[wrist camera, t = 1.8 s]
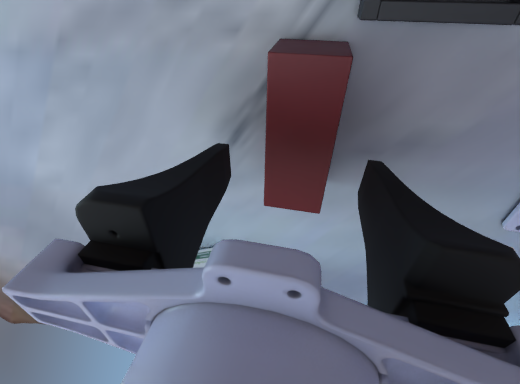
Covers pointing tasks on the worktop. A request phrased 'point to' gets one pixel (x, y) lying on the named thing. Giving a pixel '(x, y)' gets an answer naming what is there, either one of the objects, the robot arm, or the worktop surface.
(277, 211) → the worktop surface
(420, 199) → the robot arm
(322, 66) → the dark red block
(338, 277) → the worktop surface
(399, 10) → the cradle
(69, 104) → the worktop surface
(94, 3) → the worktop surface
